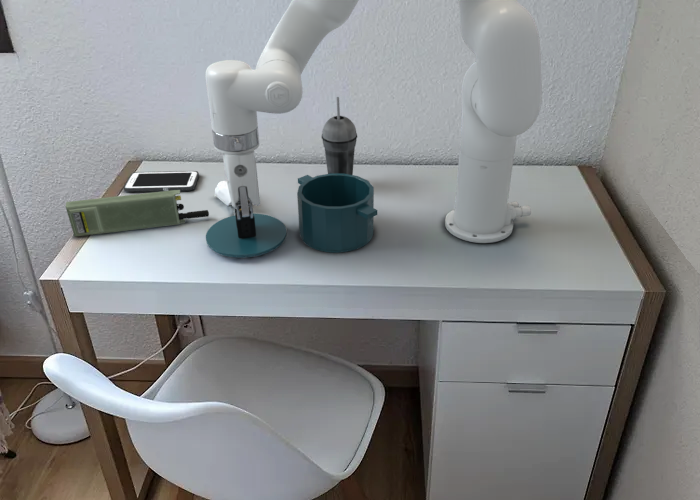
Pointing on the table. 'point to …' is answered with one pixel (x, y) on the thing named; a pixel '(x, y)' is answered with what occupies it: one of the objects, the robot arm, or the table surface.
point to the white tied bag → (223, 193)
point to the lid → (229, 244)
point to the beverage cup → (339, 143)
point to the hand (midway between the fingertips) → (246, 231)
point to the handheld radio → (127, 213)
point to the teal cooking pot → (335, 212)
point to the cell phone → (161, 181)
